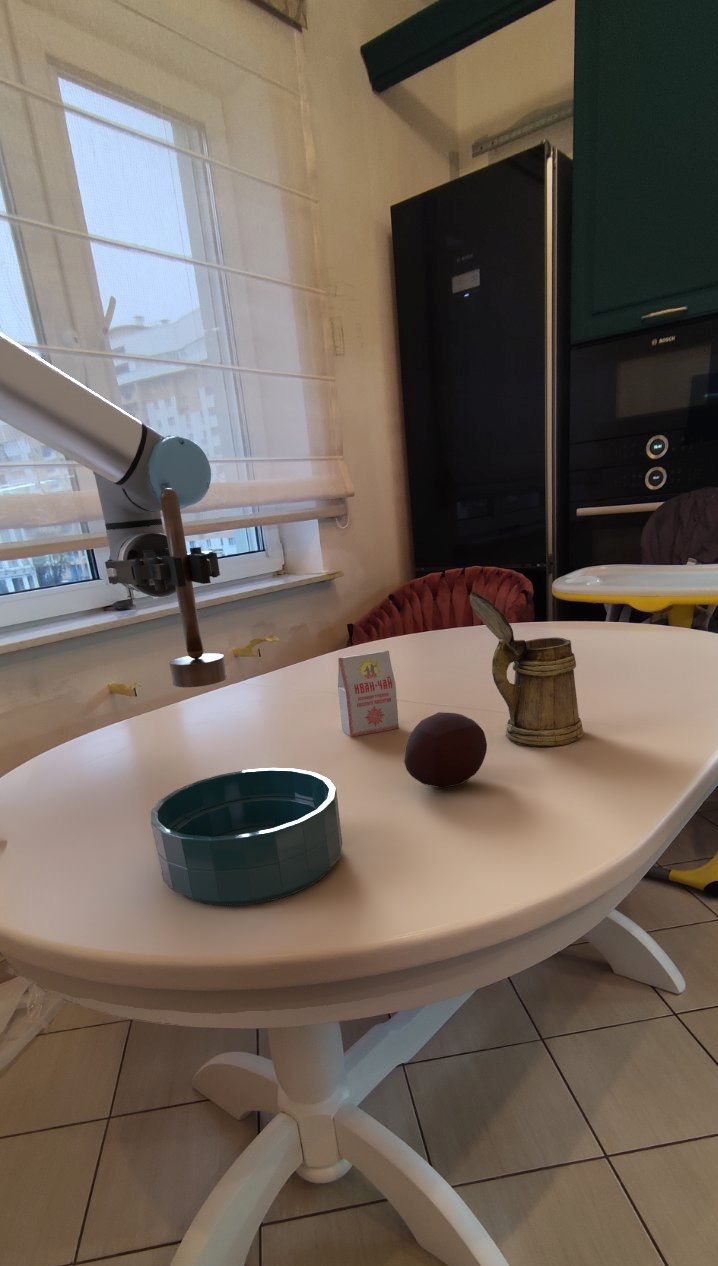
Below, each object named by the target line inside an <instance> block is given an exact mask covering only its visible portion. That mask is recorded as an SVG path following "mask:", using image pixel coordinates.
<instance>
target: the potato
mask: <svg viewBox="0 0 718 1266" xmlns="http://www.w3.org/2000/svg"><path fill="white" fill-rule="evenodd" d="M487 749H488V742H487V739H486V734H485V732H484V730H483V729H482V726H480V725H479V724H478V723H477V722H476V721H475V720H473V719H471V718H469V717H468V716H466V715H463V714H460V713H456V712H444V711H443V712H442V711H441V712H440V711H439V712H437V713H436V712H435V713H434V714H432V715H430V716H427V717H425V718H424V719H421V720H420V721H419V722H418V724H416V726H415V727H414V728H413V730H412V731H411V732H410V734H409V735H408V738H407V741H406V744H405V747H404V760H403V762H404V766H405V769H406V771H407V772H408V774H409V775H410V776H411V778H413V779H415V780H416V781H418V782H419V783H421V784H423V785H426V786H431V787H434V788H435V787H436V788H441V789H443V788H450V787H454V786H458V785H461V784H463V783H464V782H467V781H468V780H469V779H471V778H472V777H474V776H475V775H476V774H477V772H479V770H480V769H481V767H482V765H483V764H484V761H485V758H486V754H487V751H488V750H487Z"/></svg>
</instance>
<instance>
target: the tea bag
mask: <svg viewBox="0 0 718 1266" xmlns="http://www.w3.org/2000/svg"><path fill="white" fill-rule="evenodd" d="M337 662H338V665H337V667H338V668H337V670H338V672H337V690H338V691H337V693H338V702H339V711H340V712H339V713H340V720H341V721H340V723H341V730H342V731H343V733H345V734H347V736H348V737H350V738H352V737H358V736H362V735H363V736H364V735H369V734H374V733H380V732H385V731H391V730H396V729H400V725H399V724H400V723H399V713H398V712H399V711H398V698H397V697H398V696H397V684H396V680H395V676H394V670H393V666H392V662H391V656H390V651H389V650H382V651H376V652H370V653H363V654H355V655H349V656H344V657H338V658H337Z"/></svg>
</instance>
